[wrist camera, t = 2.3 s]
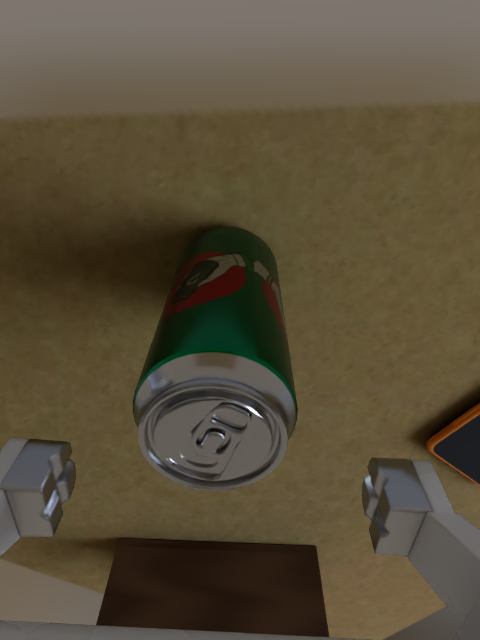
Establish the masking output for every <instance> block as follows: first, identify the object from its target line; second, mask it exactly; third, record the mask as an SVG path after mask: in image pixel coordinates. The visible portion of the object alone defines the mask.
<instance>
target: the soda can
mask: <svg viewBox="0 0 480 640" xmlns="http://www.w3.org/2000/svg"><path fill="white" fill-rule="evenodd" d="M297 411H298V408H297V401H296V394H295V387H294V381H293V374H292V367H291V360H290V353H289V346H288V339H287V333H286V326H285V319H284V312H283V305H282V298H281V291H280V285H279V278H278V271H277V264H276V261H275V258H274V255H273V253H272V252H271V250H270V248H269V247H268V246H267V244H266V243H265V242H264V241H263V240H262V239H260V238H259V237H258V236H256V235H255V234H253V233H251V232H249V231H247V230H244V229H240V228H236V227H219V228H213V229H210V230H208V231H205V232H203V233H201V234H200V235H198V236H197V237H195V238H194V239H193V240H192V241H191V242H190V243H189V244H188V245H187V247H186V248H185V250H184V252H183V254H182V256H181V259H180V262H179V264H178V267H177V270H176V273H175V276H174V279H173V282H172V285H171V288H170V291H169V294H168V297H167V300H166V303H165V305H164V308H163V311H162V314H161V317H160V320H159V323H158V326H157V329H156V332H155V335H154V338H153V341H152V343H151V346H150V349H149V352H148V355H147V358H146V361H145V364H144V367H143V370H142V373H141V376H140V379H139V381H138V384H137V387H136V390H135V394H134V399H133V414H134V419H135V423H136V425H137V427H138V441H139V445H140V448H141V451H142V453H143V455H144V456H145V458H146V459H147V461H148V462H149V463H150V464H151V465H152V466H153V468H154V469H156V470H157V471H158V472H159V473H161V474H162V475H164V476H165V477H167V478H169V479H170V480H172V481H175V482H177V483H179V484H182V485H185V486H188V487H192V488H196V489H202V490H230V489H236V488H240V487H244V486H247V485H250V484H253V483H255V482H257V481H259V480H261V479H263V478H264V477H266V476H267V475H268V474H270V473H271V472H272V471H273V470H274V469H275V468H276V467H277V466H278V464H279V463H280V462H281V460H282V458H283V456H284V454H285V452H286V448H287V444H288V440H289V438H290V437H291V435H292V433H293V431H294V429H295V425H296V421H297Z"/></svg>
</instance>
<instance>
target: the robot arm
mask: <svg viewBox="0 0 480 640" xmlns="http://www.w3.org/2000/svg"><path fill="white" fill-rule="evenodd" d="M71 453H72V449H71V445H70V442H65V441H53V440H40V439H24V438H11V439H10V440H8V441H7V442H6V443H5V445H4V446H3V448H2V449H1V451H0V556H1V555H2V554H3V553H5V552H6V551H7V550H8V549H9V548H10V547H11V546H12V545H13V544H14V543H15V542H16V541H17V540H18V539H20V537H19V536H34V537H53V536H54V534H55V531H56V529H57V527H58V524H59V522H60V520H61V518H62V515H63V511H62V507H61V505H62V504H63V503H65V502H66V501H67V500H68V499H70V496H71V494H72V491H73V489H74V484H75V479H76V468H75V463H74V462H73V461H72V460H71V459H70V458H69V457H70V455H71ZM368 470H369V474H370V475H368V476H367V477H366V478H364V482H363V486H362V502H363V508H364V512H365V515H366V516H367V517H368V518H369V519H370V520H371V521H372V522H371V525H370V528H369V532H370V536H371V540H372V544H373V547H374V551H375V554H381V555H394V556H406V557H408V559H409V560H410V562H411V563H412V564H413V565H414V567H415V568H416V569H417V570H418V571H419V573H420V574H421V575H422V576H423V578H424V579H425V580H426V581H427V583H428V584H429V585H430V586H431V587H432V589H433V590H434V591H435V592H436V594H437V595H438V596H439V597H440V598H441V600H442V601H443V602H444V603H445V605H446V606H447V607H448V608H449V609H450V611H451V612H452V613H453V614H454V616H455V617H456V618H457V619H458V621H459V622H460V623H461V624H462V625H461V627H460V628H459V630H458V632H457V633H456V635H455V637H454V638H453V640H480V530H479V529H477V528H476V527H475V526H474V525H473V524H472V523H470V522H469V521H468V520H467V519H466V518H465V517H463V516H462V515H461V514H456V513H454V511H453V509H452V507H451V505H450V502H449V500H448V498H447V496H446V494H445V492H444V489H443V487H442V485H441V483H440V481H439V479H438V477H437V474H436V472H435V470H434V468H433V466H432V464H431V463H430V462H429V461H428V460H414V459H409V460H408V459H395V458H371V460H370V461H369V464H368ZM0 640H370V639H350V638H331V637H312V636H293V635H274V634H255V633H236V632H217V631H197V630H178V629H158V628H138V627H119V626H100V625H79V624H61V623H42V622H22V621H2V620H0Z"/></svg>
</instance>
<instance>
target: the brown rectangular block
mask: <svg viewBox="0 0 480 640" xmlns="http://www.w3.org/2000/svg"><path fill="white" fill-rule="evenodd" d="M96 625H100V626H119V627H138V628H158V629H178V630H197V631H217V632H236V633H255V634H274V635H293V636H312V637H329V632H328V625H327V618H326V611H325V604H324V597H323V590H322V583H321V576H320V569H319V562H318V555H317V548H316V546H297V545H273V544H249V543H225V542H201V541H177V540H153V539H129V538H120V539H119V542H118V545H117V549H116V553H115V557H114V560H113V564H112V568H111V571H110V575H109V579H108V583H107V586H106V590H105V594H104V598H103V601H102V605H101V609H100V612H99V616H98V620H97V624H96Z"/></svg>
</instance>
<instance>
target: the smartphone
mask: <svg viewBox="0 0 480 640" xmlns="http://www.w3.org/2000/svg"><path fill="white" fill-rule="evenodd" d="M427 449H428V450H429V451H430V452H431V453H432V454H433V455H435V456H436V457H438V458H439V459H441V460H442V461H444V462H445V463H447V464H448V465H449V466H451V467H452V468H454V469H455V470H457V471H458V472H460V473H461V474H462V475H464V476H465V477H467V478H468V479H470V480H471V481H473V482H474V483H475V484H477V485H478V486H480V403H479V404H477V405H476V406H474V407H473V408H471V409H470V410H469V411H467V412H466V413H464V414H463V415H461V416H460V417H459V418H457V419H456V420H454V421H453V422H452V423H451V424H449V425H448V426H446V427H445V428H444V429H442V430H441V431H439V432H438V433H436V434H435V435H434V436H432V437H431V438H430V439H429V440H428V441H427Z"/></svg>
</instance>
